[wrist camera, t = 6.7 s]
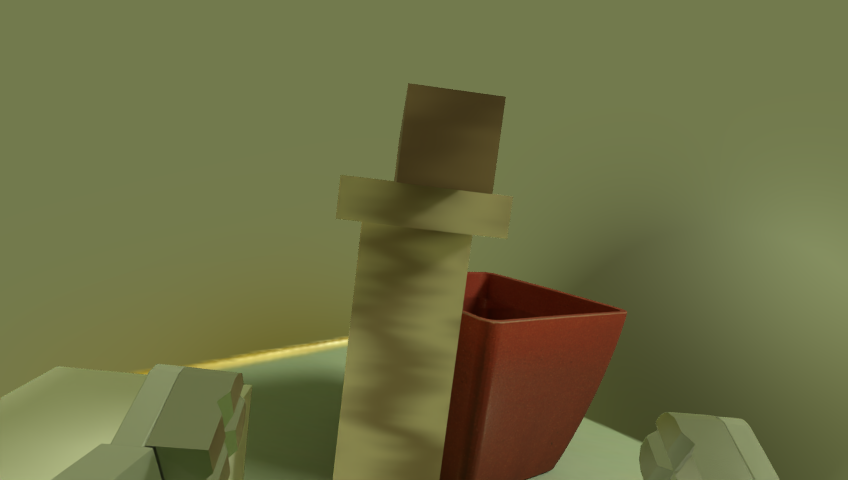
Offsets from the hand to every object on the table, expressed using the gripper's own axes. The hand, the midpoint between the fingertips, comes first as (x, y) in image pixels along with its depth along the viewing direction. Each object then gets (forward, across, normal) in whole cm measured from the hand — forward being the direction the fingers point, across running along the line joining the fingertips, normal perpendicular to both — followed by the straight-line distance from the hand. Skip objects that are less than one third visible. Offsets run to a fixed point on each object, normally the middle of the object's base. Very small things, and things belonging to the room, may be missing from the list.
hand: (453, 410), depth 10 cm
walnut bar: (+17, 0, +5) cm, 18 cm away
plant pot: (+24, -9, +40) cm, 47 cm away
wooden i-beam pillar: (+8, 0, +30) cm, 31 cm away
